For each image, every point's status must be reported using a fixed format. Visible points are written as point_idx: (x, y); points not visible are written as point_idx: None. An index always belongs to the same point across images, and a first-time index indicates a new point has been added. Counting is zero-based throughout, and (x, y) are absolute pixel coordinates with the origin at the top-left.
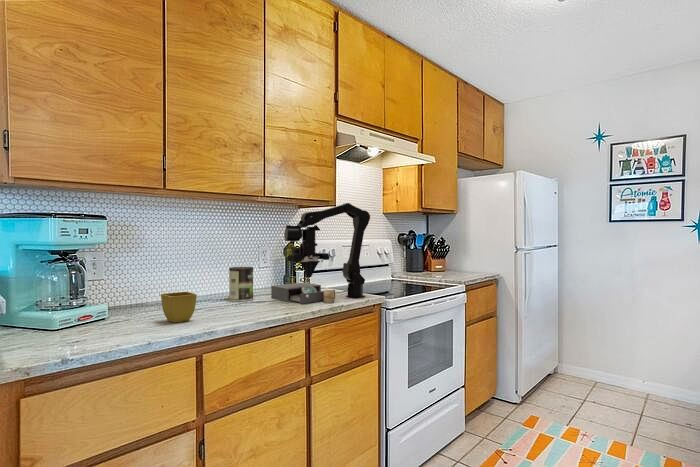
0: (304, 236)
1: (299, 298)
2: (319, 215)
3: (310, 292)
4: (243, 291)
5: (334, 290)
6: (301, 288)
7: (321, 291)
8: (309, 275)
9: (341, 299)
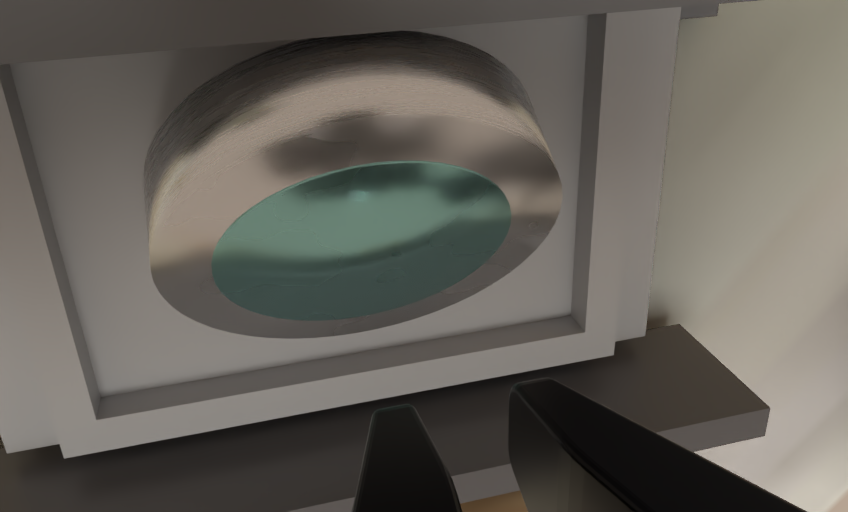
0: None
1: (20, 299)
2: None
3: (329, 305)
4: None
5: (747, 434)
6: (232, 38)
7: (472, 484)
8: (534, 439)
9: (752, 348)
